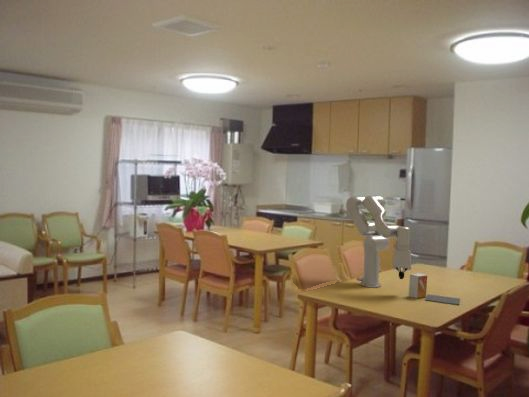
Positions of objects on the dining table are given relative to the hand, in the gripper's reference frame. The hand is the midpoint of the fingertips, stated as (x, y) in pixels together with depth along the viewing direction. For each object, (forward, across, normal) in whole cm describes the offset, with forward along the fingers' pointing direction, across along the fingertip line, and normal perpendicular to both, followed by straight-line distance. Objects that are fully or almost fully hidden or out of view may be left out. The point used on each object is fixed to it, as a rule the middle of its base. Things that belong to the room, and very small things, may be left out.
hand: (401, 278), depth 290 cm
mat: (+10, +23, 0) cm, 25 cm away
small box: (+10, +9, 0) cm, 14 cm away
